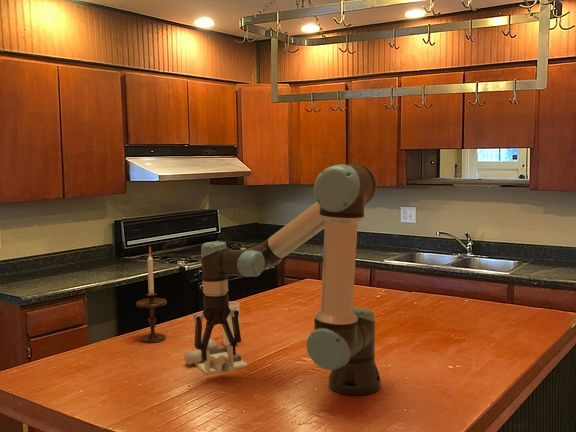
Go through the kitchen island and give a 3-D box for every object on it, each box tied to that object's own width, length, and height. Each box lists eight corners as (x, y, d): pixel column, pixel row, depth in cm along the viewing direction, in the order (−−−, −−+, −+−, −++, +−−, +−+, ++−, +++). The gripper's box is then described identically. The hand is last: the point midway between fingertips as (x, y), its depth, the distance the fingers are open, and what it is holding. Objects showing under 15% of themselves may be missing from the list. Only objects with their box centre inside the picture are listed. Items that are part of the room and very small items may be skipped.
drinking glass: (244, 344, 216) (243, 303, 215) (230, 348, 212) (229, 307, 210) (231, 340, 221) (230, 300, 220) (217, 344, 216) (216, 303, 215)
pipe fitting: (221, 364, 188) (204, 368, 183) (222, 352, 188) (204, 356, 183) (238, 370, 182) (220, 374, 177) (238, 357, 182) (221, 361, 177)
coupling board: (247, 366, 193) (247, 352, 193) (196, 376, 185) (196, 361, 185) (222, 347, 213) (222, 334, 212) (175, 355, 205) (175, 341, 204)
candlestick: (145, 334, 230) (142, 243, 226) (172, 335, 228) (169, 244, 224) (132, 343, 219) (129, 248, 216) (160, 344, 217) (157, 248, 214)
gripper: (241, 287, 189) (244, 359, 190) (180, 295, 180) (184, 370, 182) (250, 291, 182) (254, 365, 184) (187, 300, 173) (191, 378, 175)
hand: (219, 368), depth 183 cm, fingers closed on pipe fitting, 7 cm apart
